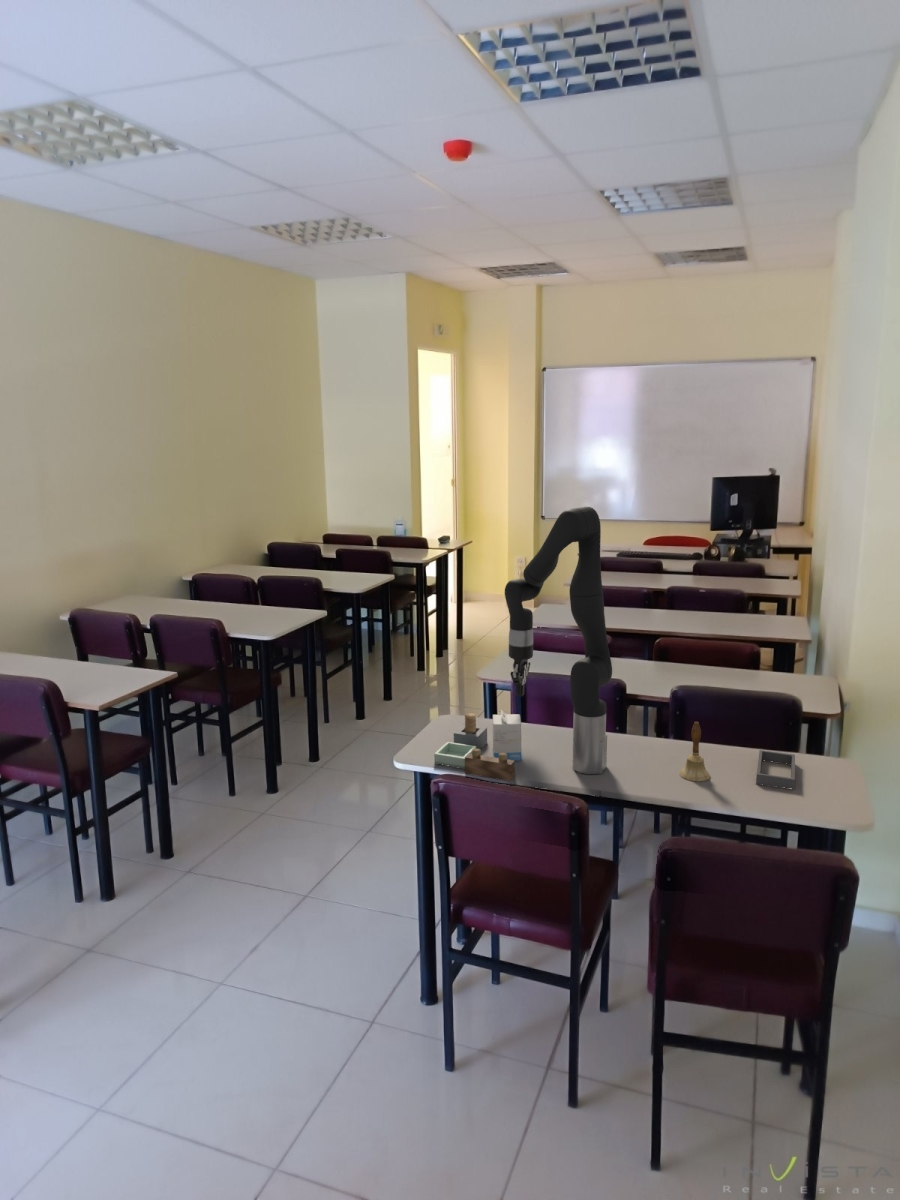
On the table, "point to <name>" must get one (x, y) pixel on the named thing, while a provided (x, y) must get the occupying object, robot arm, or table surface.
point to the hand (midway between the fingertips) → (520, 695)
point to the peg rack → (490, 766)
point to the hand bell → (695, 760)
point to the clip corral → (772, 779)
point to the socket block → (471, 737)
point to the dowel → (470, 723)
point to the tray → (453, 754)
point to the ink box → (507, 735)
